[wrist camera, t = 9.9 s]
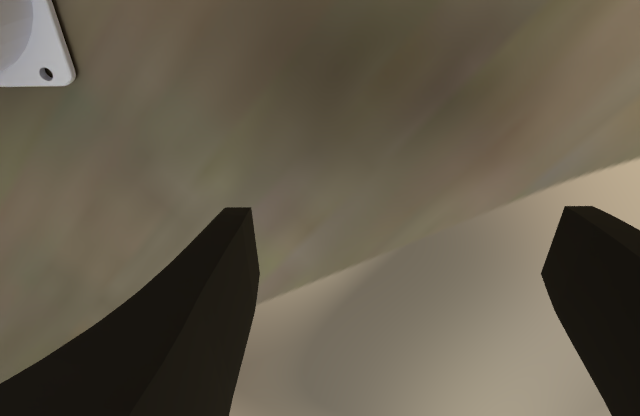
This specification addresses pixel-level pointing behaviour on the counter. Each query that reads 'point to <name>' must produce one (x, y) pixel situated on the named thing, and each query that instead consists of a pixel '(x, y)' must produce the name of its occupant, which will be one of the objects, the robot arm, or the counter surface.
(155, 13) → the counter surface
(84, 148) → the counter surface
